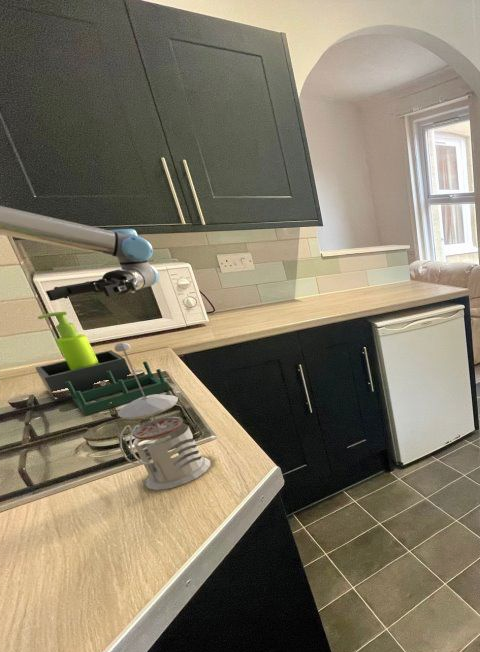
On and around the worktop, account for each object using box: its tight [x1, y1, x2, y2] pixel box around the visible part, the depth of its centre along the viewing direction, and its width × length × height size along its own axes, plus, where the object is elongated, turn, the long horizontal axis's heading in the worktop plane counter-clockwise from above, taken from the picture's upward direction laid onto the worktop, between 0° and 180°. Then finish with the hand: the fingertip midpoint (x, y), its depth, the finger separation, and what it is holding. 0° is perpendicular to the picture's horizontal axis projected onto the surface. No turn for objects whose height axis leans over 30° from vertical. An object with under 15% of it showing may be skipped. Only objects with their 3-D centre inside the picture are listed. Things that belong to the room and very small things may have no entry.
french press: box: [114, 341, 211, 491], centre depth 71 cm, size 10×12×25 cm
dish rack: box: [65, 361, 171, 416], centre depth 109 cm, size 17×12×6 cm
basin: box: [34, 349, 132, 403], centre depth 116 cm, size 16×14×7 cm
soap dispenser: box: [37, 311, 99, 370], centre depth 113 cm, size 6×7×20 cm
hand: (77, 293), depth 118 cm, fingers open, 13 cm apart
